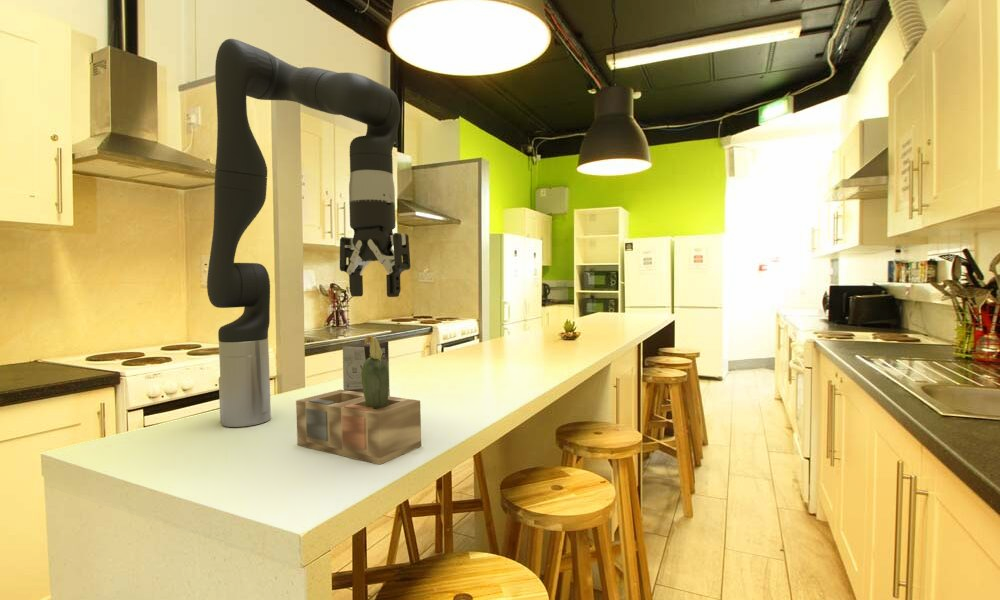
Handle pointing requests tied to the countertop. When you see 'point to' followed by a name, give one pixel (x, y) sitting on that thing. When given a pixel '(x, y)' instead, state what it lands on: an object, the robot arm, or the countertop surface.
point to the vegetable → (375, 376)
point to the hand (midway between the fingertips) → (374, 296)
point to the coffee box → (359, 363)
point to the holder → (358, 426)
